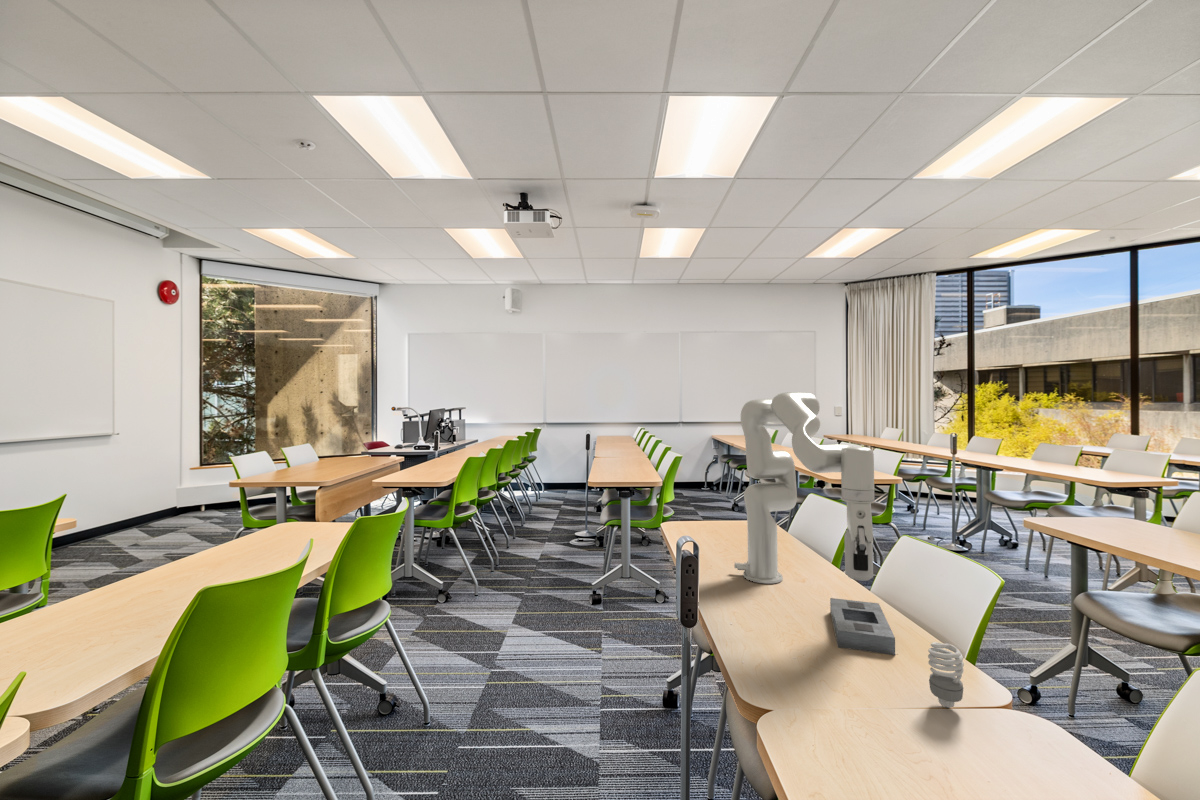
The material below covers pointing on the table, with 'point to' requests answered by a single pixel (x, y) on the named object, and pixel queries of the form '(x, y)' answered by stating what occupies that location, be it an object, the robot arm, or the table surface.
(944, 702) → the light bulb
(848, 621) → the gray slotted block
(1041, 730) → the table surface
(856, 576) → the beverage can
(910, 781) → the table surface
